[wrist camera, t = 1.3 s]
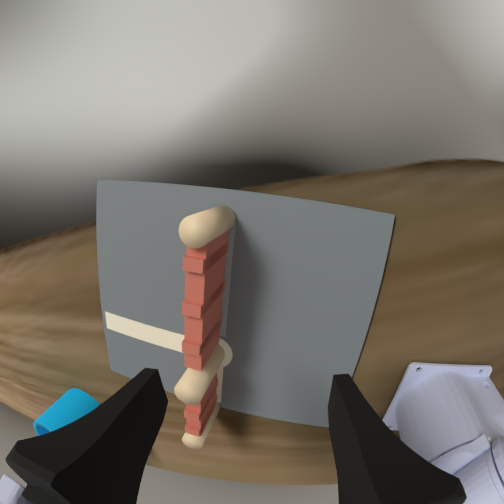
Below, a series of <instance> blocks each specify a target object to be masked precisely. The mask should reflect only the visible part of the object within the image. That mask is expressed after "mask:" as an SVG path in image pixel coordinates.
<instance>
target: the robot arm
mask: <svg viewBox="0 0 504 504" xmlns="http://www.w3.org/2000/svg"><path fill="white" fill-rule="evenodd" d="M419 367H420V369H418V370H416V369H417V368H419ZM480 370H481V371H480ZM491 372H492V367H491V366H490V365H455V364H434V363H419V362H413V363H411V364H409V366H408V367H407V370H406V372H405V374H404V376H403V379H402V381H401V383H400V385H399V387H398V389H397V392H396V394H395V396H394V398H393V400H392V402H391V404H390V406H389V408H388V410H387V412H386V413H385V415H384V417H383V419H382V420H381V418H380V417H379V416H378V415H377V414H376V412H375V411H374V410H373V408H372V407H371V406H370V404H369V403H368V402H367V400H366V399H365V398H364V396H363V395H362V393H361V392H360V390H359V389H358V387H357V386H356V384H355V383H354V381H353V379H352V378H351V376H350V375H349V374H334V375H333V379H332V385H331V391H330V397H329V402H328V421H329V431H330V436H331V442H332V447H333V453H334V458H335V463H336V469H337V476H338V493H339V504H504V400H503V398H502V397H501V395H500V394H499V392H498V390H497V389H496V387H495V386H494V384H493V382H492V381H491V379H490V378H489V376H490V374H491ZM167 404H168V399H167V396H166V393H165V390H164V387H163V384H162V381H161V377H160V374H159V371H158V369H152V368H144V369H143V370H142V371H141V372H139V373H138V374H137V375H136V376H135V377H134V378H133V379H131V380H130V381H129V382H128V383H127V384H126V385H125V386H123V387H122V388H121V389H120V390H119V391H117V392H116V393H115V394H114V395H113V396H111V397H110V398H109V399H107V400H106V401H105V402H103V403H102V404H101V405H99V406H98V407H97V408H95V409H94V410H92V411H91V412H89V413H88V414H86V415H84V416H83V417H81V418H79V419H77V420H76V421H74V422H72V423H70V424H67V425H65V426H63V427H61V428H59V429H57V430H54V431H51V432H49V433H46V434H43V435H40V436H36V437H32V438H28V439H24V440H19V441H17V443H16V444H15V446H14V447H13V448H12V450H11V451H10V453H9V454H8V456H7V457H6V462H7V464H8V465H9V466H10V467H11V468H12V469H13V470H14V471H15V472H16V473H17V474H18V475H19V476H20V477H21V478H22V479H23V480H24V481H25V482H26V483H27V484H28V485H27V486H26V488H25V487H23V486H22V485H21V484H19V483H18V482H16V481H15V480H14V479H12V478H11V477H9V476H8V475H6V474H4V475H3V477H2V478H1V480H0V504H136V502H137V496H138V491H139V487H140V483H141V478H142V475H143V471H144V467H145V464H146V461H147V459H148V456H149V454H150V451H151V449H152V447H153V444H154V442H155V439H156V437H157V435H158V432H159V430H160V427H161V425H162V422H163V419H164V416H165V412H166V408H167ZM389 425H390V426H389ZM391 430H399V435H400V439H399V438H398V437H397V436H396V435H395V434H394V433H393V432H392V431H391Z"/></svg>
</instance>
